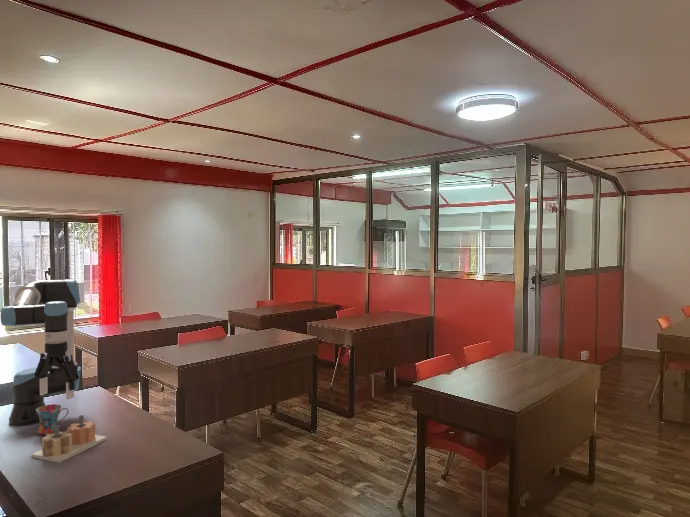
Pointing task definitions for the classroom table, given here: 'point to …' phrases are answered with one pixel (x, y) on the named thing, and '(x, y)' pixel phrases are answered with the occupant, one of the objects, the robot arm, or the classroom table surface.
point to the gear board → (75, 440)
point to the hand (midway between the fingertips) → (56, 396)
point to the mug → (49, 418)
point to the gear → (56, 444)
